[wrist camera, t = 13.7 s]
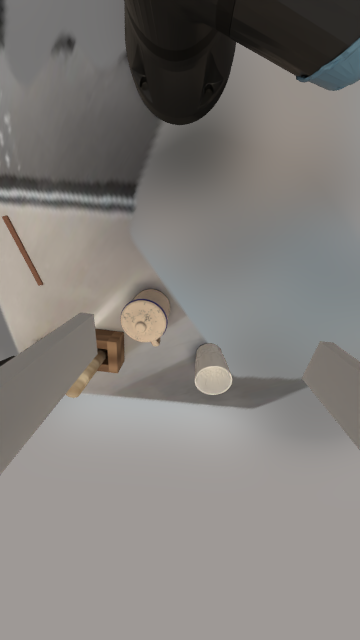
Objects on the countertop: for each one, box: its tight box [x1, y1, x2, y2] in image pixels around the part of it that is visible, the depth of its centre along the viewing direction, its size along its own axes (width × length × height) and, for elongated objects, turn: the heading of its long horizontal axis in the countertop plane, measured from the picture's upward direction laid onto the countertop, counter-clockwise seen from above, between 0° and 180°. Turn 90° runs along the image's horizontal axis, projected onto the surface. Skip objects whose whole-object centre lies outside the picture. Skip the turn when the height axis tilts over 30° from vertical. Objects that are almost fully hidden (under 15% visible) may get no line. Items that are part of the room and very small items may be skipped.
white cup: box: [195, 343, 232, 395], centre depth 43 cm, size 8×8×10 cm
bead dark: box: [95, 329, 124, 373], centre depth 45 cm, size 9×9×5 cm
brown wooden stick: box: [2, 216, 43, 285], centre depth 39 cm, size 14×1×1 cm, turn 12°
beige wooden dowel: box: [66, 348, 108, 398], centre depth 40 cm, size 3×3×16 cm
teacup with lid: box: [121, 289, 170, 346], centre depth 38 cm, size 12×9×12 cm
